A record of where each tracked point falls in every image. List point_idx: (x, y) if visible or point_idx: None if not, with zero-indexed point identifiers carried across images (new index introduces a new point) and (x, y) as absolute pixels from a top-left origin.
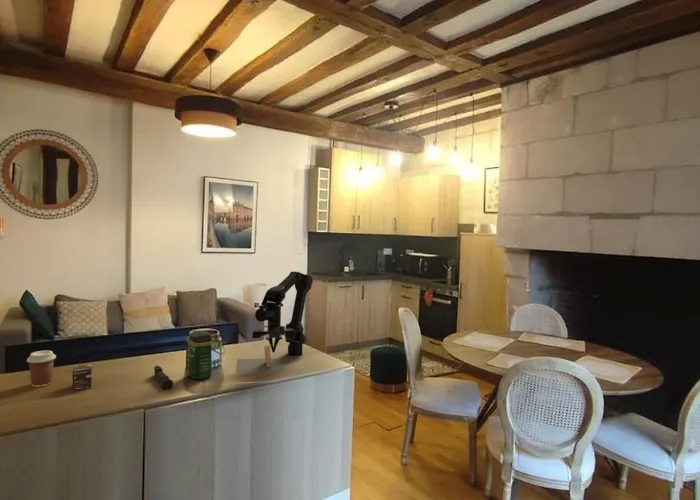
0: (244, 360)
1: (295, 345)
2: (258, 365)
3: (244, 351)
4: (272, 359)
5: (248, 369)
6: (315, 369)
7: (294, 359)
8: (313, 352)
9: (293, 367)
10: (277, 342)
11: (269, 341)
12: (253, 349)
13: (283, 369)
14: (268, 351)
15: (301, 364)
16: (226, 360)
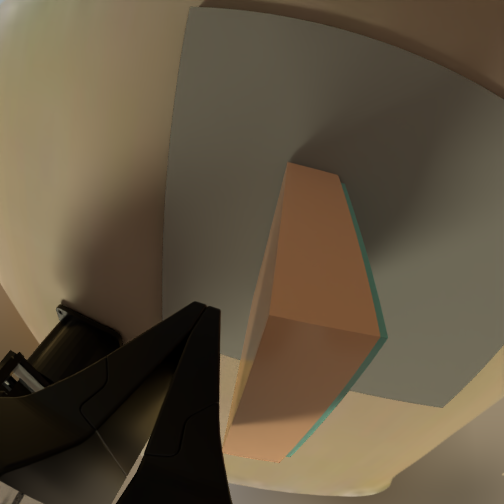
0: (424, 385)
1: (54, 370)
2: (398, 257)
3: (334, 463)
4: (230, 335)
5: None
6: (3, 58)
7: (92, 284)
8: (33, 323)
9: (98, 119)
10: (56, 392)
11: (215, 497)
12: (286, 463)
13: (185, 41)
14: (310, 278)
15: (51, 174)
16: (480, 411)
